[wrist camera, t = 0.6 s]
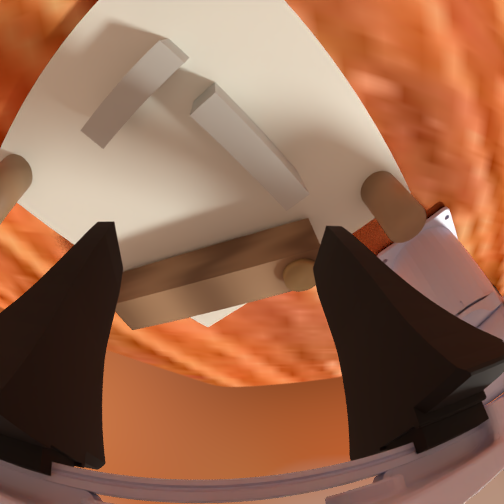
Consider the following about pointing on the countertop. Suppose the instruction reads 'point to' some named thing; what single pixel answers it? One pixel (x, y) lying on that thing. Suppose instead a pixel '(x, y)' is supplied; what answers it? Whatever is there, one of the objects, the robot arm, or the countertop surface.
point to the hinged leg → (220, 276)
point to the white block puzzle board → (198, 133)
